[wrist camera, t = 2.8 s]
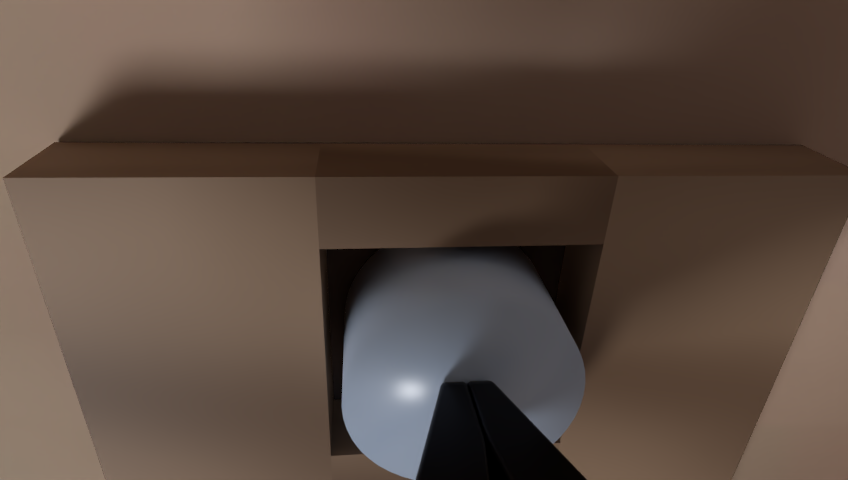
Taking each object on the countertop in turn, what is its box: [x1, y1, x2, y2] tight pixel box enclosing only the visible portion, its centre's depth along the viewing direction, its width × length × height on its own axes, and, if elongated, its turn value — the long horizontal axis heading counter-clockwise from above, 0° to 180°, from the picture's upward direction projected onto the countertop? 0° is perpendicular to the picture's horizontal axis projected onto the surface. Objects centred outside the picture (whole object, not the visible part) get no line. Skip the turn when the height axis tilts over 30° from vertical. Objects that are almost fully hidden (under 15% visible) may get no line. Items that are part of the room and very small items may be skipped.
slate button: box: [342, 246, 585, 480], centre depth 10 cm, size 4×4×2 cm
